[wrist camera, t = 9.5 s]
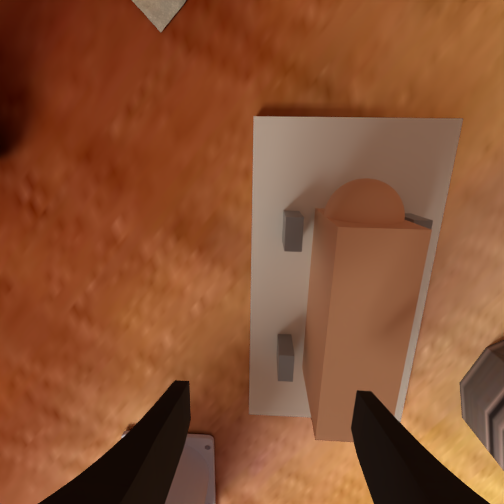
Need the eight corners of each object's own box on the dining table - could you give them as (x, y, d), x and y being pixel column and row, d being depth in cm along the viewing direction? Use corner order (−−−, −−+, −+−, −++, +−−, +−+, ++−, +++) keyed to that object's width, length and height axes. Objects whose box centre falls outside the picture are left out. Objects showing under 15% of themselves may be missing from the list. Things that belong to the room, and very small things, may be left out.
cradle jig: (396, 413, 23) (416, 452, 20) (249, 406, 24) (246, 442, 21) (454, 120, 17) (497, 109, 14) (254, 118, 18) (251, 107, 14)
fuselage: (355, 370, 21) (388, 444, 16) (302, 367, 22) (315, 439, 16) (384, 177, 18) (441, 181, 12) (317, 175, 18) (342, 179, 12)
